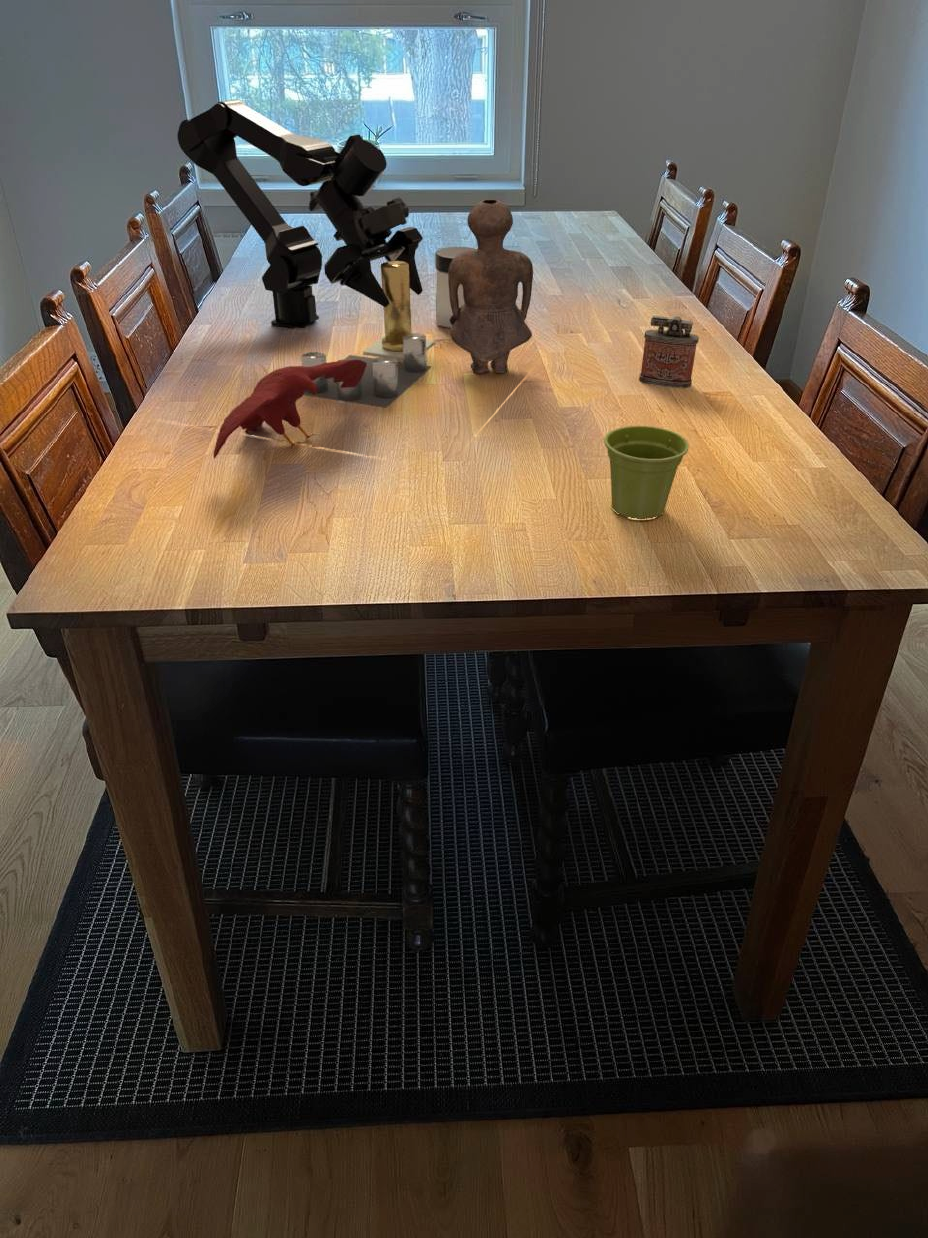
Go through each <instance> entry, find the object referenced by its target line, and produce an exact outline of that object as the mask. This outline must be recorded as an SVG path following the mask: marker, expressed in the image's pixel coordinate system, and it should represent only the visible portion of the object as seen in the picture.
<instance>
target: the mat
mask: <svg viewBox="0 0 928 1238" xmlns="http://www.w3.org/2000/svg"><path fill="white" fill-rule="evenodd" d="M375 358H376V357H375ZM375 358H374V357H373V358H372V357H367V356H366V357H365V356H360V355H352V354H349V355H348V356H346V357H345V358H344V359H355V360H362V361H364V362H366V363H367V366H366V369H365V371H364V374H363V376H362V378H361V385H362V397H361V398H360V399H358V400H354V401H344V400H340V399H339V398H338V395H337V383H334V382H333V381H334V378H329V379H328V390H327V391H326V392H323V393H319V394H317V396H315V395H313V394H312V393H307V392H304V394H303V396H307V397H308V396H309V397H313V398H314V397H315V398H323V399H327V400H335V401H339V402H346V403H353V404H354V403H355V404H359V405H360V404H361V405H367V406H374V407H378V408H379V407H380V408H388V407H389V406H390V405H391V404H392V403H394V401H396V400H397V399H398V398H399V397H400V396H401V395H402V394H403V393H404V392H406V391H407V390H408V389H409V388H410V387H411V386H412V385H413V384H414V383H415V382H417V381H418V380H419V379H420V378H421V377H422V376H423V375H424V374H425V373H427V372H428V371H429V370H430V369H431V368H432V367H433V366H432V365H431V366H430V365H427V369H426V370H425V371H423V372H418V373H412V372H407V371H405V370H404V361H403V362H401V361H397V369H398V395H397V396H396V397H393V398H378V397H376V396H375V395H374V383H373V363H372V361H373V359H375Z"/></svg>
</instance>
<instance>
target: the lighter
mask: <svg viewBox="0 0 928 1238" xmlns="http://www.w3.org/2000/svg"><path fill="white" fill-rule="evenodd" d="M693 324H694V322H693V320H683V319H682V318H681V317H680V316H677V315H676V316H674V317H672V318H669V317H667V316H659V315H652V317H651V319H650V326H651V327H658V328H657V329H648V330H647V329H646V330H645V331H644V335H643V337H644V346H643V353H642V354H643V355H642V361H641V367H640V368H641V369H640V373H639V375H638V381H639V382H640V383H643V384H647V385H651V384H653V386H657V385H658V387H666V388H672V389H673V388H675V389H677V388H678V389H688V388H691V387H692V382H693V378H692V375H693V370H694V363H695V357H696V351H697V344H698V343H699V339H700V338H699V335H696V334H695V333H694V334H693V333H692V329H693ZM665 328H667V329H666V330H665Z"/></svg>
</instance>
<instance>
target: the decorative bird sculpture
mask: <svg viewBox="0 0 928 1238" xmlns="http://www.w3.org/2000/svg"><path fill="white" fill-rule="evenodd" d="M341 360H342V359H341ZM366 366H367V363H366V362H364V361H362V360H342V361H339V360H337V361H330V362H326V363H324V364H320V365H316V366H311V367H304V366H302V365H297V366H296V365H295V366H294V365H291V366H285V367H281V368H278V369H277V368H276V369H275V370H273V371H271V372H270V373H267V374H266V375H264V377H262V378H260V379H259V381H258V382H257V383H256V385H255V387H254V388H253V392H252V394H251V395H249V396H247V397H246V398H245V399H244V400H243V401H241V402H240V404H238V405H237V406H236V407H235V408H233V409H232V410H231V411H230V413H229V414H227V416H226V417H225V418H224V420H223V423H222V424H221V427H220V428H219V431H218V435H217V439H216V443H215V446H214V450H213V459H214V460H215V459H216V458H217V456H218V455H219V453H220V451H221V449H222V448H223V446H225V443H226V442H227V439H228V438H229V437H230V436H231V435H232V434H233V433H234V432H235V431H236V430H237V429H238V428H239V427H240V428H241V429H242V430H244V433H246V434H248V433H250V432H251V431H255V430H256V429H257V428H259V427H262V426H263V424H264V422H265V424H266V425H268V427H270V428H271V429H272V430H273V432H275V433H276V434H277V435H279V436H281V435H282V436H283V438H285V440H286V441H288V443H289V444H290V448H291V449H293V447H295V446H296V445H297V444H300V443H301V442H299V441H297V442H295V443H293V441H292V440H291V439H290V438H289V437H288V435H287V434H286V430H285V426H284V424H283V421H284V422H287V423H288V424H289V425H290V426H291V427H293V428H298V429H299V431H300V432H302V433H303V435H304V437H305V440H307V439H309V438H311V437H313V436H315V435H316V434H314V433H311V434H310V435H308V434H307V432H306V430H304V429H303V428H302V426H301V422H302V421H301V417H300V415H299V411H298V410H297V404H296V402H297V401H298V400H299V399H301V398H302V397H303V396H304V395H303V394H304V392H305V391H306V390H308V391H310V392H311V393H312V394H313V395H315V396H317V391H318V390H317V387H316V385H315V384H314V382H313V380H315V379H317V378H319V377H321V376H323V375H324V378H326V379H329V378H334V381H333V382H334V383H339V382H343V383H342V385H341V388H347V387H355V386H356V385H357V384H358V383H359V382H360V380H361V378H362V376H363V374H364V371H365V369H366Z"/></svg>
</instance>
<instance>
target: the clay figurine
mask: <svg viewBox="0 0 928 1238" xmlns="http://www.w3.org/2000/svg"><path fill="white" fill-rule="evenodd" d="M466 219H467V226H468V229H469V230H470V232H472V235H474V237H475V239H476V243H477V244H476V245H477V248H476V249H477V250H473V251H467V252H463V253H460V254H458V255H457V256H456V257H455V258H454V259H453V260H452V262H451V264H450V266H449V272H448V284H449V298H450V305H451V309H452V313H453V315H452V316H451V318H450V323H451V324H452V327H451V328H450V330H449V331H450V338H451V340H452V342H453V343H454V344H455V345H457V346H458V347H459V348H461V349H462V350H463V351H466V352H467V353H469V354H470V357H471V360H472V363H471V364H470V368H471V370H472V371H473V372H474V373H476V374H484V373H487V372H488V371H489V364H490V366H491V367H492V368H493V373H495V374H505V373H507V372H508V359H509V356H510V353H511V351H512V350H514V349H516V348H518V347H519V346H521V345H523V344H525V343H527V342H528V341H529V340H531V338H532V337H533V332H532V330H531V329H530V327H529V326H528V325H527V323H526V321H525V320H526V319H527V316H528V312H529V308H530V304H531V300H532V298H531V297H532V291H533V289H532V288H533V280H534V267H533V263H532V261H531V259H530V257H528V255H526V254H525V253H523V252H521V251H517V250H510V249H506V248H505V247H504V240H505V238H506V236H507V234H508V233H509V232H510V231H511V229H512V226H513V224H514V219H513V214H512V212H511V210H510V208H509V206H508V205H506V204H505V203H503V202H502V201H501V200H498V199H494V198H492V199H489V198H488V199H484V200H481V201H479V202H478V203H476V204H475V205H474V206H473V207H472V208H471V209H470V212H469V214H468V215H467V218H466ZM520 283H521V285H522V296H521V297H522V298H521V306H520V307H521V308H519V307H518V305H517V299H518V296H519V291H518V290H519V284H520ZM460 284H462V286H463V297H464V302H465V303H464V305H463V306H462V307H460V308H459V299H458V287H459V285H460ZM489 362H490V363H489Z"/></svg>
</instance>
